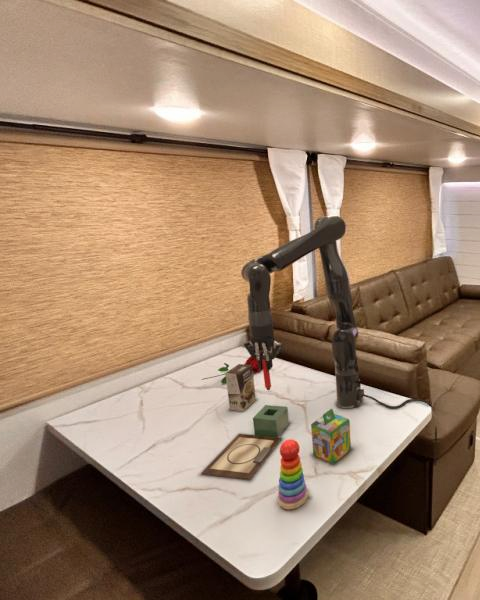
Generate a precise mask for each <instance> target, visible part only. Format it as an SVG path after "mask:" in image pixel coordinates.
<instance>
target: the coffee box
mask: <svg viewBox="0 0 480 600" xmlns="http://www.w3.org/2000/svg"><path fill="white" fill-rule="evenodd" d="M224 374H225V375H224V376H226V383H225V384H226V389H227V398H228V405H229V410H230V411H237V412H244V411H245V410H247V408H249V407H250V406H251V405H253V404H254V403H255V402H256V401H257V397H256V395H257V394H256V390H255V389H256V387H255V379H254V372H253V370H252V365H245V363H244V364H242V363H241V364H240V363H238V364H236V365H235V366H234V367H232V368H231V369H228V371H226V372H224Z"/></svg>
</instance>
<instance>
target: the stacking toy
mask: <svg viewBox="0 0 480 600" xmlns="http://www.w3.org/2000/svg"><path fill="white" fill-rule="evenodd" d="M299 453H300V444H299V442H298V441H297V440H296V439H293V438H290V439H289V438H288V439H285V440H284V441H283V442H282V443H281V445H280V447H279V454H280V456H281V457H280V468H279V469H280V472H279V478H278V493H277V495H278V496H277V502H278V504H279V506H280V507H281V508H283V509H284V510H285V509H286V510H294V509H297V508H299V507H301V506H302V505H304V503H305V502H306V501H307V500H308V496H309V494H308V487H307V483H306V479H305V474H304V469H303V465H302V463H303V462H302V461H301V457H300V455H299Z"/></svg>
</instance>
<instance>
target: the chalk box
mask: <svg viewBox="0 0 480 600" xmlns="http://www.w3.org/2000/svg"><path fill="white" fill-rule="evenodd" d="M350 420H351V419H349V418H347V417H344V416H342V415H340V414H337V413H335V411H334V409H333V408H330V409H328V410H327V411H326V412H324V413H323V414H322V416H320V417H319V418H318V419H316V420H314V421H313V422H312V423H310V427H311V429H310V430H311V441H312V453H313V456H315V457H317V458H319V459H321V460H323V461H325V462H327V463H330V464H332V465H335V464H336V463H337V462H338V461H339V460H341V458H343V457H344V456H345V455H346V454H347V453H348V452H349V451H351V450H352V446H351V445H352V444H351V443H352V442H351V423H350Z"/></svg>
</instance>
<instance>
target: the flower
mask: <svg viewBox="0 0 480 600" xmlns="http://www.w3.org/2000/svg"><path fill="white" fill-rule="evenodd" d="M244 364H245V365H252V370H253V373H260V371H261V370H260V368H259V367H258V360H257V359H256V358H252V357H251V355H250V356H249V357H248V358H247V360H246V361H245V362H244ZM223 365H224V366H222V367H220V368H218V369H217V371H218V372H221V374H218V375H215V376H209V377H204V378H201V380H208V379H212V378H216V377H221V376H224V377H223V378H222V379H221V381H220V383H221V384H227V383H226V375H225V373H226V372H228V371H229V367H230V365H229V364H228V363H226V362H224V363H223ZM222 372H224V373H222Z"/></svg>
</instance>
